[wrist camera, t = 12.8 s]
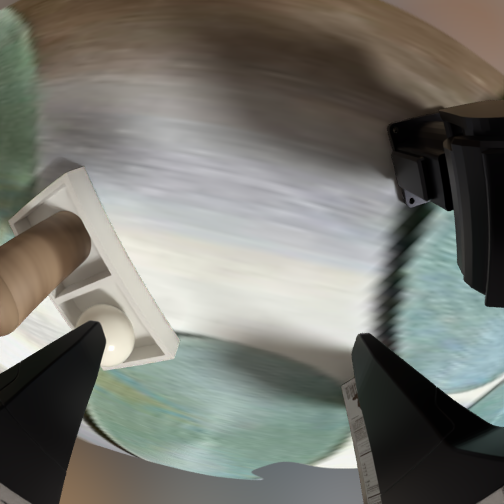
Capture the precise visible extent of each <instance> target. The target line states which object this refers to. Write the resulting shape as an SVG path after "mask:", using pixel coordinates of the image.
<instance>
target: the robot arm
mask: <svg viewBox="0 0 504 504" xmlns="http://www.w3.org/2000/svg"><path fill="white" fill-rule="evenodd" d="M393 127H395V128H396V132H395V133H393V130H392V129H393ZM387 131H388V135H389V138H390V142H391V146H392V149H393V152H392V154H391V156H392V160H393V164H394V168H395V172H396V176H397V181H398V185H399V186H400V187H401V188H402V192H403V197H404V202H405V204H406V205H407V206H409V207H414V206H417V205H420V204H423V203H426V202H429V201H431V202H433V203H435V204H436V205H438V206H440V207H442V208H443V209H445V210H447V211H451V210H454V217H455V228H456V244H457V264H458V266H459V268H460V270H461V272H462V274H463V275H464V281H465V282H466V283H467V284H468V285H469V286H470V287H471V288H473V289H475V290H476V291H478V292H480V293H482V294H484V295H485V305H486V306H487V307H501V308H504V100H486V101H481V102H475V103H470V104H464V105H459V106H454V107H450V108H445V109H440V110H439V112H438V113H433V114H428V115H424V116H419V117H415V118H411V119H406V120H402V121H398V122H394V123H391V124H389V125H388V127H387ZM410 198H412V202H410V203H409V200H410ZM105 347H106V337H105V334H104V331H103V328H102V325H101V323H100V322H98V321H93V320H89V321H87V322H86V323H84V324H82V325H81V326H79V327H77V328H76V329H74V330H72V331H71V332H69V333H67V334H65V335H64V336H62V337H60V338H59V339H57V340H55V341H54V342H52V343H50V344H49V345H47V346H45V347H44V348H42V349H40V350H39V351H37V352H36V353H34V354H32V355H31V356H29V357H27V358H26V359H24V360H22V361H21V362H19V363H17V364H16V365H14V366H13V367H11V368H9V369H8V370H6V371H4V372H2V373H1V374H0V504H59V501H60V497H61V492H62V488H63V484H64V480H65V476H66V471H67V468H68V464H69V460H70V457H71V454H72V450H73V447H74V443H75V440H76V437H77V434H78V431H79V427H80V424H81V421H82V418H83V415H84V412H85V409H86V407H87V404H88V401H89V398H90V395H91V393H92V390H93V387H94V385H95V382H96V379H97V376H98V372H99V368H100V364H101V361H102V357H103V354H104V350H105ZM352 362H353V368H354V375H355V382H356V389H357V394H358V399H359V403H360V406H361V410H362V414H363V418H364V422H365V426H366V431H367V435H368V439H369V443H370V448H371V452H372V457H373V461H374V466H375V471H376V476H377V481H378V486H379V491H380V494H381V495H380V497H381V502H382V504H504V427H499V426H495V425H492V424H490V423H488V422H486V421H485V420H483V419H482V418H480V417H479V416H477V415H476V414H474V413H472V412H471V411H469V410H468V409H466V408H465V407H463V406H462V405H460V404H459V403H458V402H456V401H455V400H453V399H452V398H451V397H449V396H448V395H447V394H445V393H444V392H443V391H442V390H440V389H439V388H438V387H436V386H435V385H434V384H433V383H432V382H430V381H429V380H428V379H427V378H425V377H424V376H423V375H422V374H420V373H419V372H418V371H417V370H415V369H414V368H413V367H412V366H410V365H409V364H408V363H407V362H405V361H404V360H403V359H402V358H400V357H399V356H398V355H397V354H395V353H394V352H393V351H391V350H390V349H389V348H388V347H386V346H385V345H384V344H383V343H381V342H380V341H379V340H378V339H376V338H375V337H374V336H373V335H371V334H370V333H360V334H358V335H357V337H356V341H355V344H354V347H353V350H352Z"/></svg>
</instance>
